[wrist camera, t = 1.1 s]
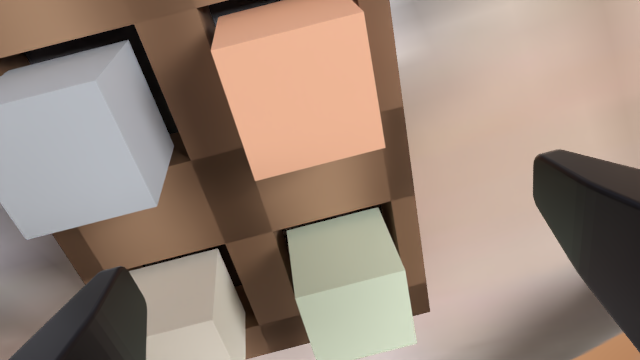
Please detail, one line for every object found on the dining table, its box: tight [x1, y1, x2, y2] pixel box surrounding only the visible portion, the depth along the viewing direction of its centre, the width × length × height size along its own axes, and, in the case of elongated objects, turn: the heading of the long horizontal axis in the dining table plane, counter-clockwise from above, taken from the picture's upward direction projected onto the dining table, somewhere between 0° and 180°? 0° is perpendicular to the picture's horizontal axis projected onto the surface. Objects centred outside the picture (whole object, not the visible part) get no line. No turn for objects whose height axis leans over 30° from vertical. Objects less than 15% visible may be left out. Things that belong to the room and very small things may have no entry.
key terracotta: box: [211, 0, 386, 181], centre depth 15 cm, size 4×4×4 cm
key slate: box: [0, 40, 174, 240], centre depth 15 cm, size 4×4×4 cm
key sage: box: [287, 207, 417, 360], centre depth 20 cm, size 4×4×4 cm
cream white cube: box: [129, 248, 246, 360], centre depth 19 cm, size 4×4×4 cm
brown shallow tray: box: [0, 0, 430, 359], centre depth 20 cm, size 14×18×3 cm
